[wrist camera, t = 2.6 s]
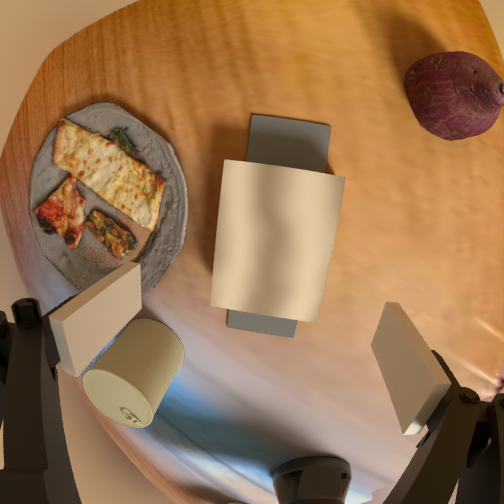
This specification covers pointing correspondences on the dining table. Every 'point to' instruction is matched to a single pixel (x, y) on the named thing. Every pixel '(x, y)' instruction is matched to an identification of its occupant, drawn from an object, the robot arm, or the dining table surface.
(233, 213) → the beige wavy block
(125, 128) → the food plate
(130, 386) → the can
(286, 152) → the mat
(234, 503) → the coffee cup
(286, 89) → the dining table surface
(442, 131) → the vegetable
